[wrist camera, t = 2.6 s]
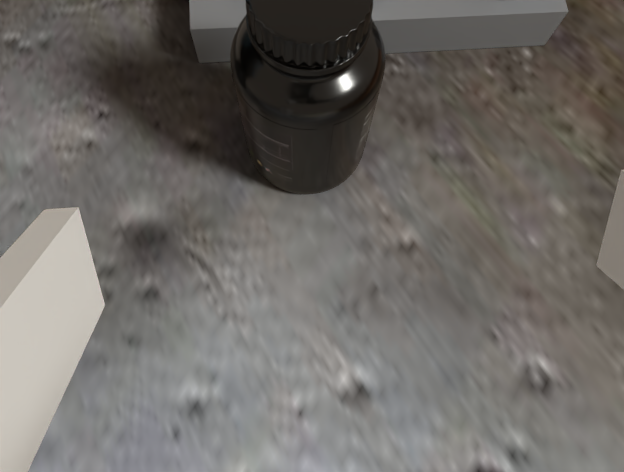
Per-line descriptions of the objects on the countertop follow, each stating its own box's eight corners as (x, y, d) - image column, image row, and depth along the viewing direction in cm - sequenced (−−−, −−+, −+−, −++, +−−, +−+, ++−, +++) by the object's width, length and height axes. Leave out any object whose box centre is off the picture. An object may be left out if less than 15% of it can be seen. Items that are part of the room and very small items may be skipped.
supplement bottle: (307, 74, 31) (317, -111, 20) (386, 148, 30) (444, -5, 19) (221, 140, 30) (179, -19, 18) (301, 222, 28) (308, 104, 17)
